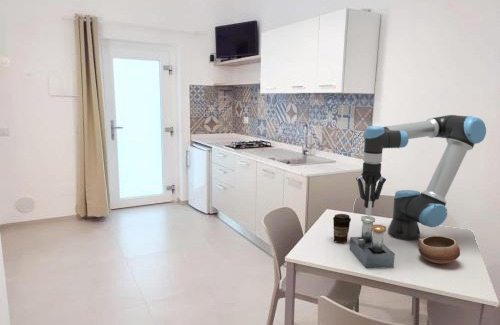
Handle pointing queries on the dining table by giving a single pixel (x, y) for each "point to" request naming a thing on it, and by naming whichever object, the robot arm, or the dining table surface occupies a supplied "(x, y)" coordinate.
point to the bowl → (439, 249)
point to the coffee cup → (341, 227)
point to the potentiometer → (361, 242)
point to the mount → (372, 255)
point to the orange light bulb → (377, 237)
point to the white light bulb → (367, 227)
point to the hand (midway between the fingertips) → (368, 214)
